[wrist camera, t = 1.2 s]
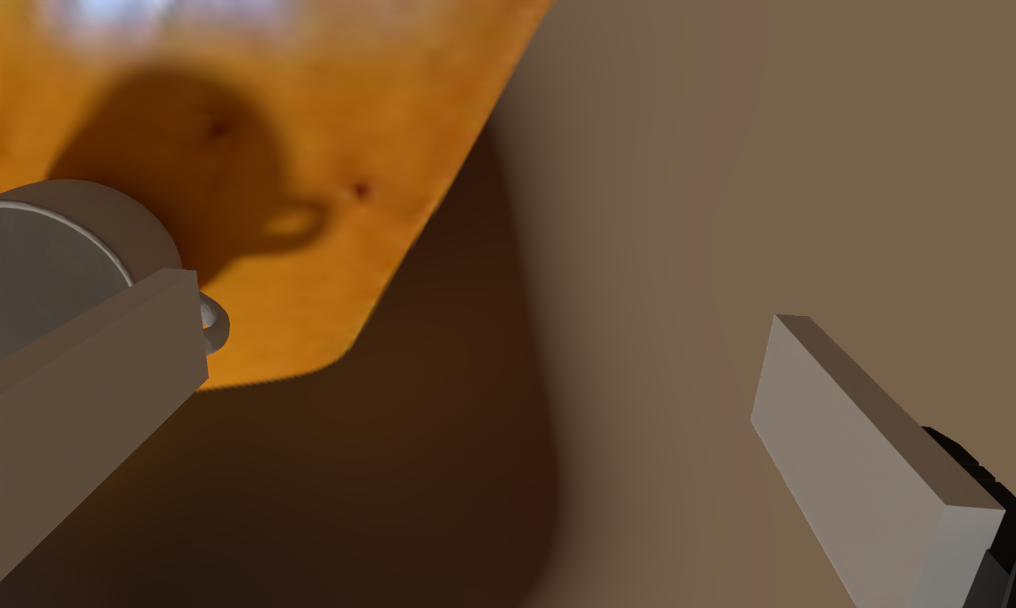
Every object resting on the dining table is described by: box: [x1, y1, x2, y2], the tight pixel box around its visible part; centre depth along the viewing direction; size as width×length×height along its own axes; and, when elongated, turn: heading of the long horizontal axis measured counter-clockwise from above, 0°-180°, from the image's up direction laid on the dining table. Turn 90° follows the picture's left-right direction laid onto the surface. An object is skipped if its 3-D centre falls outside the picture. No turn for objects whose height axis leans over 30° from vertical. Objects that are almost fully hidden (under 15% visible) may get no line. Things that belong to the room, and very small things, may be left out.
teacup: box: [0, 179, 230, 360], centre depth 35 cm, size 14×11×8 cm
